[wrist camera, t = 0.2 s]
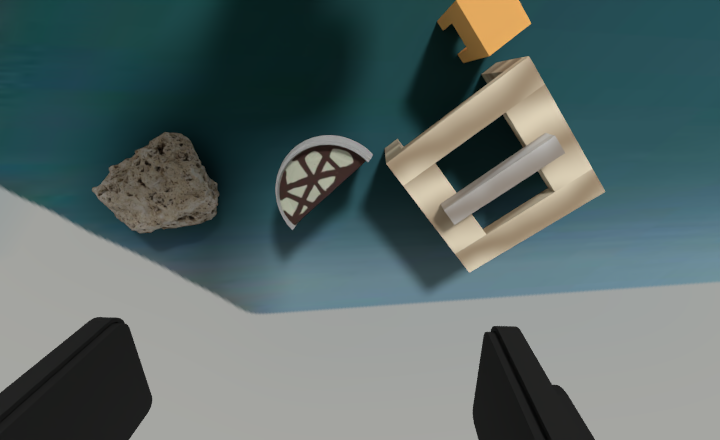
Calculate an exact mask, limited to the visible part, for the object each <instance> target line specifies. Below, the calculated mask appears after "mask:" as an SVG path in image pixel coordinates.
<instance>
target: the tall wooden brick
mask: <svg viewBox="0 0 720 440" xmlns="http://www.w3.org/2000/svg"><path fill="white" fill-rule="evenodd" d="M437 22H438V24H439V25H440V27H441V29H442V30H443V31H444V30H445V29H446V28H447V27H448V26H449V25H451V24H453V26H454V27H455V29H456V31H457V32H458V34H459V36H460V37H461V39H462V40H463V42H464V44H465V45H466V48H465V49H463V50H462V51H461V52H460V53H458V56H459V57H460V59H461V61H462V62H463V63H466V62H469V61H473V60H477V59H480V58H484V57H488V56H490V55H491V54H493V53H494V52H495V51H497V50H498V49H499V48H500V47H502V46H503V45H504V44H506V43H507V42H508V41H509V40H511V39H512V38H513V37H515V36H516V35H517V34H518V33H520V32H521V31H522V30H523V29H525V28H526V27H527V26H529V25H530V24H531V22H530V20H529V18H528V16H527V15H526V13H525V11H524V9H523V7H522V5H521V4H520V2H519V0H456V1H455V2H454V3H453V4H452V5H451V6H450V7H449V9H448V10H447V11H446V12H445V13H444V14H443V15H442V16H441V17H440V19H439V20H438V21H437Z"/></svg>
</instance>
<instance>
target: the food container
mask: <svg viewBox="0 0 720 440" xmlns="http://www.w3.org/2000/svg"><path fill="white" fill-rule="evenodd" d="M372 156H373V154H372V153H371V152H370V151H369V150H368V149H367V148H365V147H364V146H362V145H361V144H359V143H357V142H355V141H353V140H351V139H348V138H345V137H342V136H334V135H323V136H318V137H313V138H310V139H308V140H305V141H303V142H302V143H300V144H298V145H297V146H296V147H295V148H293V149H292V150H291V151H290V152H289V153H288V155H287V156H286V157H285V159H284V160H283V162H282V164H281V166H280V169H279V172H278V175H277V180H276V188H275V194H276V201H277V205H278V208H279V210H280V213H281V215H282V217H283V219H284V220H285V222H286V223H287V225H288V226H289V227H290V228H291V229H292V230H293V229H294V228H295V226H296V225H297V223H298V222H299V221H300V220H301V219H302V218H303V217H304V216H305V215H307V214H308V213H309V212H310V211H311V210H312V209H313V208H314V207H316V206H317V205H318V204H319V203H320V202H321V201H322V200H323V199H325V198H326V197H327V196H328V195H329V194H330V193H331V192H332V191H333V190H335V189H336V188H337V187H338V186H339V185H340V184H341V183H342V182H343V181H344V180H346V179H347V178H348V177H349V176H350V175H351V174H352V173H353V172H354V171H356V170H357V169H358V168H359V167H360V166H361V165H362V164H363V163H364V162H365V161H367V162H369V160H370V159H371V157H372Z"/></svg>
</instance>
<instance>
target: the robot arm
mask: <svg viewBox="0 0 720 440" xmlns="http://www.w3.org/2000/svg"><path fill="white" fill-rule="evenodd" d="M151 404H152V395H151V392H150V389H149V387H148V384H147V380H146V377H145V374H144V371H143V368H142V365H141V362H140V359H139V356H138V353H137V350H136V347H135V344H134V341H133V338H132V335H131V332H130V329H129V327H128V325H127V324H125V323H124V321H123V320H122V319H120V318H103V317H97V318H94V319H92V320H91V321H89V322H88V323H86V324H85V325H84V326H83V327H81V328H80V329H79V330H78V331H76V332H75V333H74V334H73V335H71V336H70V337H69V338H68V339H66V340H65V341H64V342H63V343H62V344H60V345H59V346H58V347H57V348H55V349H54V350H53V351H52V352H50V353H49V354H48V355H47V356H45V357H44V358H43V359H42V360H40V361H39V362H38V363H37V364H36V365H34V366H33V367H32V368H31V369H29V370H28V371H27V372H26V373H24V374H23V375H22V376H21V377H19V378H18V379H17V380H16V381H15V382H14V383H12V384H11V385H10V386H8V387H7V388H6V389H5V390H4V391H2V392H1V393H0V440H129V439H130V437H131V436H132V434H133V433H134V432H135V430H136V429H137V427H138V426H139V424H140V423H141V421H142V420H143V419H144V417H145V416H146V415H147V413H148V412H149V409H150V407H151ZM473 420H474V425H475V428H476V432H477V435H478V439H479V440H595V439H594V437H593V436H592V434H591V432H590V431H589V429H588V428H587V426H586V424H585V423H584V421H583V419H582V418H581V416H580V415H579V413H578V411H577V410H576V408H575V406H574V405H573V403H572V401H571V400H570V398H569V396H568V395H567V394H566V392H565V391H564V390H563V389H562V388H561V387H560V386H558V385H552V384H551V383H550V381H549V379H548V377H547V376H546V374H545V372H544V370H543V369H542V367H541V365H540V363H539V362H538V360H537V358H536V357H535V355H534V353H533V351H532V350H531V348H530V346H529V344H528V343H527V341H526V339H525V338H524V336H523V334H522V333H521V331H520V329H519V328H518V327H507V326H494V327H492V329H491V332H485V334H484V338H483V344H482V351H481V357H480V364H479V371H478V378H477V385H476V391H475V398H474V404H473Z"/></svg>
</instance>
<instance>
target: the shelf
mask: <svg viewBox="0 0 720 440" xmlns="http://www.w3.org/2000/svg"><path fill="white" fill-rule="evenodd" d="M481 75H482V76H483V78H484V80H485V81H486V83H487V84H486V85H485V86H484V87H483V88H481V89H480V90H479V91H477V92H476V93H475V94H473V95H472V96H471V97H469V98H468V99H467V100H465V101H464V102H463V103H461V104H460V105H459V106H457V107H456V108H455V109H453V110H452V111H451V112H449V113H448V114H447V115H445V116H444V117H443V118H442V119H440V120H439V121H438V122H436V123H435V124H434V125H432V126H431V127H430V128H428V129H427V130H426V131H424V132H423V133H422V134H420V135H419V136H418V137H416V138H415V139H414V140H412V141H411V142H410V143H408V144H407V145H406V146H404V147H403V146H402V144H401V143H400V142H399V140H398V139H397V140H395V141H394V142H393V143H391V144H390V145H389V146H387V147H386V148H385V157H386V164H387V166H388V167H389V168H390V169H391V171H392V172H393V173H394V175H395V176H396V177H397V179H398V180H399V181H400V183H401V184H402V185H403V186H404V188H405V189H406V190H407V192H408V193H409V194H410V196H411V197H412V198H413V200H414V201H415V202H416V204H417V205H418V206H419V207H420V209H421V210H422V211H423V213H424V214H425V215H426V217H427V218H428V219H429V221H430V222H431V223H432V224H433V226H434V227H435V228H436V230H437V231H438V232H439V234H440V235H441V236H442V238H443V239H444V240H445V242H446V243H447V244H448V245H449V247H450V248H451V249H452V251H453V252H454V253H455V255H456V256H457V257H458V259H459V260H460V261H461V262H462V264H463V265H464V266H465V268H466V269H467V270H468V272H469V273H470V272H471V271H473V270H475V269H476V268H478V267H480V266H481V265H483V264H485V263H486V262H488V261H490V260H491V259H493V258H495V257H496V256H498V255H500V254H501V253H503V252H505V251H507V250H508V249H510V248H512V247H513V246H515V245H517V244H518V243H520V242H522V241H523V240H525V239H527V238H528V237H530V236H532V235H533V234H535V233H537V232H538V231H540V230H542V229H543V228H545V227H547V226H548V225H550V224H552V223H554V222H555V221H557V220H559V219H560V218H562V217H564V216H565V215H567V214H569V213H570V212H572V211H574V210H575V209H577V208H579V207H580V206H582V205H584V204H585V203H587V202H589V201H590V200H592V199H594V198H595V197H597V196H599V195H601V194H602V193H604V192H605V190H604V188H603V187H602V185H601V183H600V181H599V180H598V178H597V176H596V174H595V172H594V171H593V169H592V167H591V165H590V164H589V162H588V160H587V158H586V156H585V155H584V153H583V151H582V149H581V148H580V146H579V144H578V142H577V140H576V139H575V137H574V135H573V133H572V132H571V130H570V128H569V126H568V125H567V123H566V121H565V119H564V117H563V116H562V114H561V112H560V110H559V109H558V107H557V105H556V103H555V101H554V100H553V98H552V96H551V94H550V93H549V91H548V89H547V87H546V85H545V84H544V82H543V80H542V78H541V77H540V75H539V73H538V71H537V69H536V68H535V66H534V64H533V62H532V61H531V59H530V57H529V56H527V57H522V58H517V59H512V60H507V61H502V62H497V63H495V64H494V65H493V66H491V67H490V68H489V69H488V70H486V71H485V72H484V73H482V74H481ZM501 115H503V116H504V117H505V119H506V121H507V122H508V124H509V126H510V127H511V129H512V130H513V132H514V134H515V135H516V137H517V138H518V140H519V142H520V143H521V145H522V147H523V148H522V149H521V150H519V151H518V152H516V153H515V154H513V155H512V156H510V157H509V158H507V159H506V160H504V161H503V162H502V163H500V164H499V165H497V166H496V167H494V168H493V169H491V170H490V171H488V172H487V173H485V174H484V175H482V176H481V177H479V178H478V179H476V180H475V181H473V182H472V183H470V184H469V185H468V186H466V187H465V188H463V189H462V190H460V191H459V192H457V193H456V191H455V190H454V189H453V187H452V186H451V184H450V183H449V182H448V180H447V179H446V177H445V176H444V175H443V173H442V172H441V170H440V169H439V168H438V166H437V165H436V162H437V161H439V160H440V159H441V158H443V157H444V156H446V155H447V154H448V153H450V152H451V151H453V150H454V149H455V148H457V147H458V146H460V145H461V144H462V143H464V142H465V141H467V140H468V139H469V138H471V137H472V136H473V135H475V134H476V133H478V132H479V131H480V130H482V129H483V128H485V127H486V126H487V125H489V124H490V123H492V122H493V121H494V120H496V119H497V118H499V117H500V116H501ZM537 171H538V172H539V174H540V176H541V177H542V179H543V180H544V182H545V184H546V185H547V187H548V188H547V189H546V190H544V191H543V192H541V193H539V194H538V195H536V196H535V197H533V198H531V199H530V200H528V201H527V202H525V203H523V204H522V205H520V206H519V207H517V208H515V209H514V210H512V211H511V212H509V213H508V214H506V215H504V216H503V217H501V218H500V219H498V220H496V221H495V222H493V223H492V224H490V225H488V226H487V227H485V228H484V229H482V228H481V226H480V225H479V224H478V222H477V221H476V219H475V218H474V217H473V215H472V213H474V212H475V211H477V210H478V209H480V208H481V207H483V206H484V205H486V204H488V203H489V202H491V201H492V200H494V199H495V198H497V197H498V196H500V195H501V194H503V193H504V192H506V191H508V190H509V189H511V188H512V187H514V186H515V185H517V184H518V183H520V182H521V181H523V180H525V179H526V178H528V177H529V176H531V175H532V174H534V173H535V172H537Z"/></svg>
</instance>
